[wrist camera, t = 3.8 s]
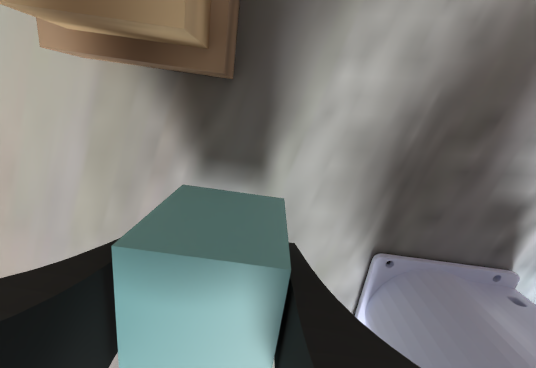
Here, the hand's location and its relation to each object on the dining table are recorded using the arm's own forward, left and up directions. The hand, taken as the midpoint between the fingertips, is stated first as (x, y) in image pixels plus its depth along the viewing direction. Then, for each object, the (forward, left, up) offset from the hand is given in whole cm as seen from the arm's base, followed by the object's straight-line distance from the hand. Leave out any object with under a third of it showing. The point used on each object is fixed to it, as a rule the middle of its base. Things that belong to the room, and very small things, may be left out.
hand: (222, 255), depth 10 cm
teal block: (0, 0, -2) cm, 2 cm away
